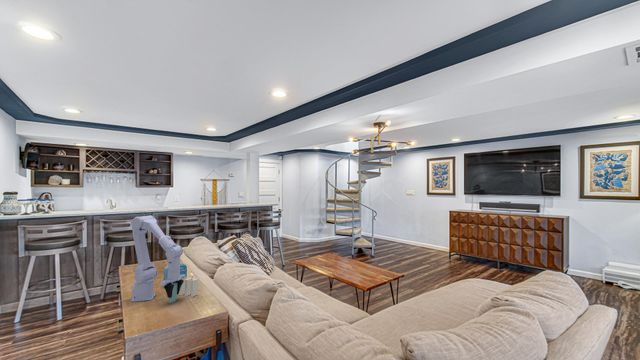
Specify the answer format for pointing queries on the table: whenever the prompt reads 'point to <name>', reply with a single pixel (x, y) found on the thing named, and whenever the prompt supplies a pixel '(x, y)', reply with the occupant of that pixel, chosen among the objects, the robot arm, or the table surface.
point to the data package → (182, 271)
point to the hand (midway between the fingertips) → (173, 295)
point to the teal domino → (174, 293)
